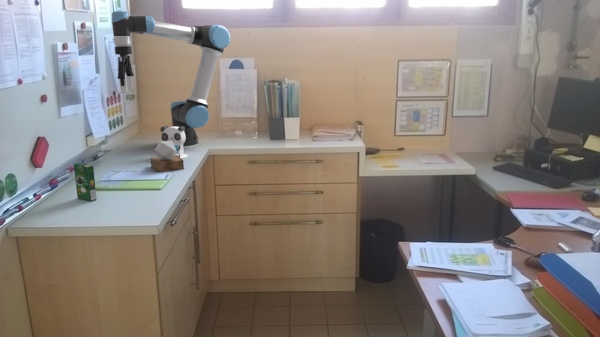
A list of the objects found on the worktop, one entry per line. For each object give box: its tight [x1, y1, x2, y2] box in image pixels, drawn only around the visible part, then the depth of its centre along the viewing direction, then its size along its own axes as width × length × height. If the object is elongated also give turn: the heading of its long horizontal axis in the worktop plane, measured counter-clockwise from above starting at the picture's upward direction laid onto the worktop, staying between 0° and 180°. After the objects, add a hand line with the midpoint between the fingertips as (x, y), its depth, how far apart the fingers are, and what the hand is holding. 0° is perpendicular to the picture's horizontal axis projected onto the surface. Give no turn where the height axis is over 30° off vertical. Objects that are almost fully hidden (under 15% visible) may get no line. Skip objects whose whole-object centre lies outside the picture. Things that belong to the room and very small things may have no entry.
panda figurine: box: [160, 125, 189, 160], centre depth 261 cm, size 12×11×15 cm
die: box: [154, 140, 177, 160], centre depth 239 cm, size 8×9×10 cm
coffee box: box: [73, 162, 97, 202], centre depth 196 cm, size 8×3×13 cm, turn 57°
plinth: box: [150, 155, 185, 173], centre depth 241 cm, size 12×12×4 cm
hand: (127, 91), depth 258 cm, fingers open, 13 cm apart
